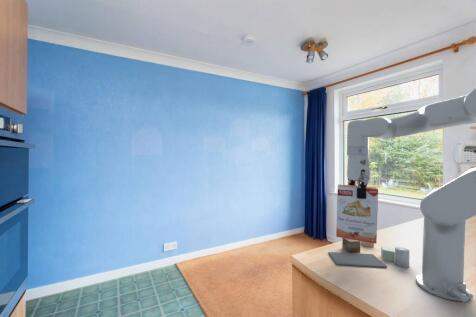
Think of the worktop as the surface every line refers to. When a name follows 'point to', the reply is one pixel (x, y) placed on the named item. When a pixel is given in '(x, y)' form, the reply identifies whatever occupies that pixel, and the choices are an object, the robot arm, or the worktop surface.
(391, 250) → the sage block
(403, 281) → the worktop surface
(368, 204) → the cracker box
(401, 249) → the grey rounded capsule
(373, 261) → the mat
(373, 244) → the terracotta block
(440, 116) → the robot arm
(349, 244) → the walnut block
